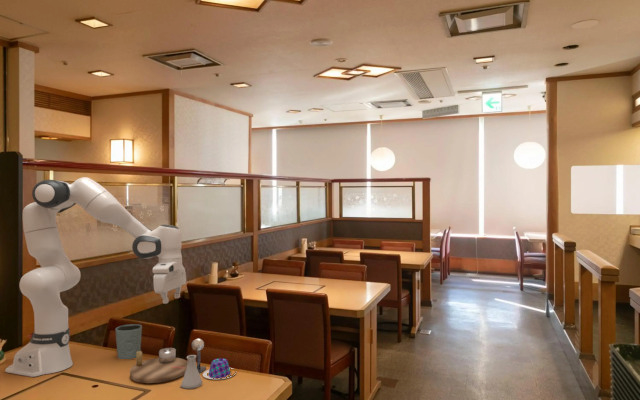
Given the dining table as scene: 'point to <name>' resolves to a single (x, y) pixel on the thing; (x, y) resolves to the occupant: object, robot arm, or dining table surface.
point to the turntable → (156, 370)
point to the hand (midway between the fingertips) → (171, 300)
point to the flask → (191, 374)
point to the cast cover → (167, 355)
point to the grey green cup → (128, 340)
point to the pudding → (218, 369)
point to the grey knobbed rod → (198, 352)
